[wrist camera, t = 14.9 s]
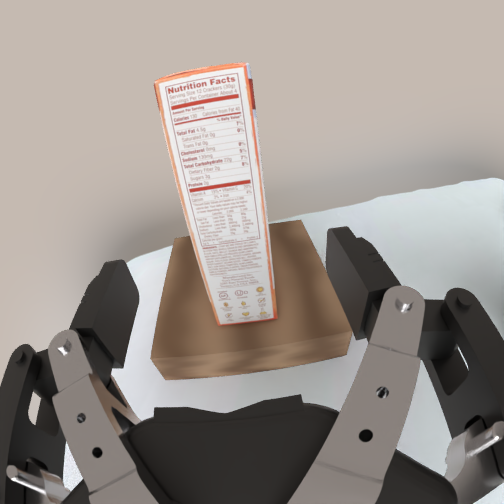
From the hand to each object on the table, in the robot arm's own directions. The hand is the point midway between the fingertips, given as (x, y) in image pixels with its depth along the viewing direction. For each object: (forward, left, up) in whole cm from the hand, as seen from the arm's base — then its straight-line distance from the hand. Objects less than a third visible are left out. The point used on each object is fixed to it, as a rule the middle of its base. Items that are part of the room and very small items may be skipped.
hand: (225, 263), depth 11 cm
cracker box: (0, -15, -13) cm, 20 cm away
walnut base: (0, -15, -17) cm, 23 cm away
